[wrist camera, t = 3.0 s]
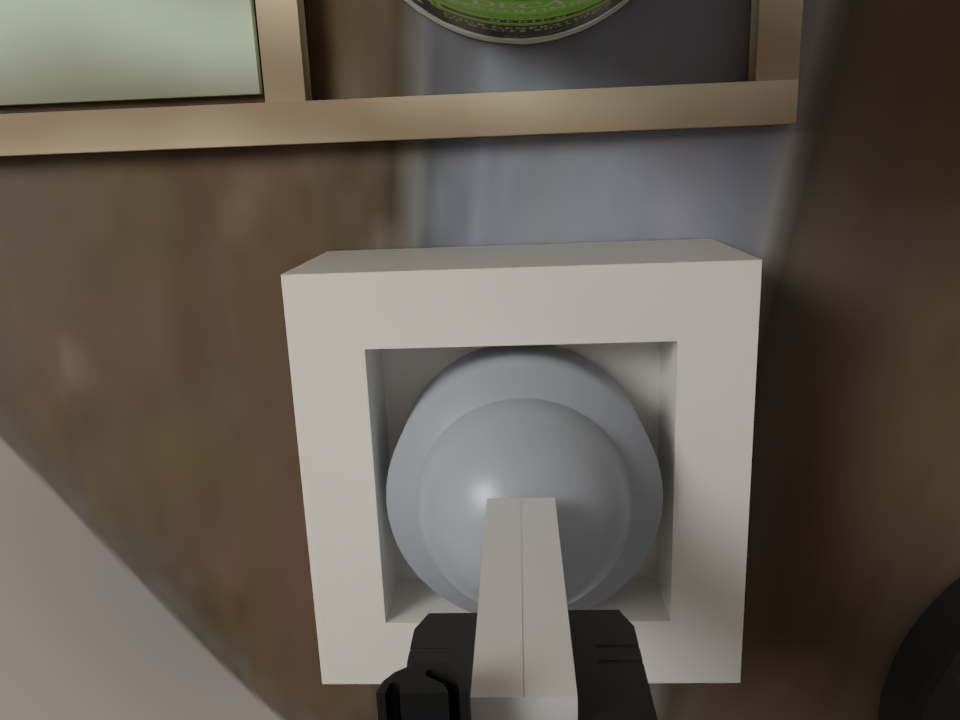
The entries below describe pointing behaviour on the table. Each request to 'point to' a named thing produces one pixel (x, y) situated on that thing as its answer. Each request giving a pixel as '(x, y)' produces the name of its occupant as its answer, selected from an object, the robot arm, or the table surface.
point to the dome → (524, 469)
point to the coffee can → (517, 17)
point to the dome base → (528, 321)
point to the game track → (287, 85)
